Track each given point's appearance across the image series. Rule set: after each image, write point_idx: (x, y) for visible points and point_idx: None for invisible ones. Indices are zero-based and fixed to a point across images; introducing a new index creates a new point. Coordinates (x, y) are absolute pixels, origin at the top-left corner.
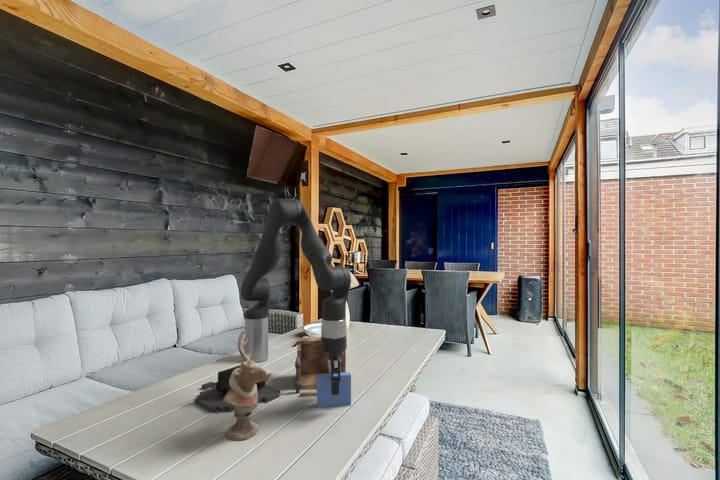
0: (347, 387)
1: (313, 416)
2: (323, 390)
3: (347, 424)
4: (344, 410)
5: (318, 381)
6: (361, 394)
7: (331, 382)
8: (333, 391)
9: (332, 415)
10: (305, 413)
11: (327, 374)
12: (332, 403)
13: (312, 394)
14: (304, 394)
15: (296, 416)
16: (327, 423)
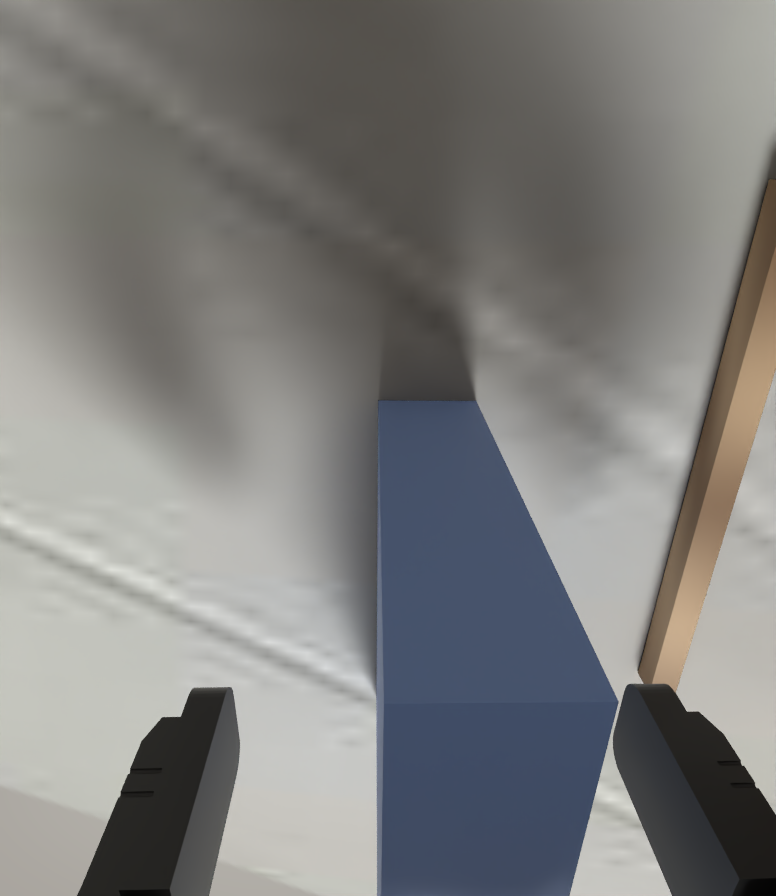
0: (377, 856)
1: (164, 353)
2: (379, 592)
3: (16, 642)
4: (281, 643)
5: (383, 638)
6: None
7: (116, 888)
8: (136, 759)
9: (185, 541)
10: (244, 256)
11: (494, 884)
12: (377, 574)
13: (729, 364)
14: (764, 253)
15: (165, 126)
16: (16, 487)
